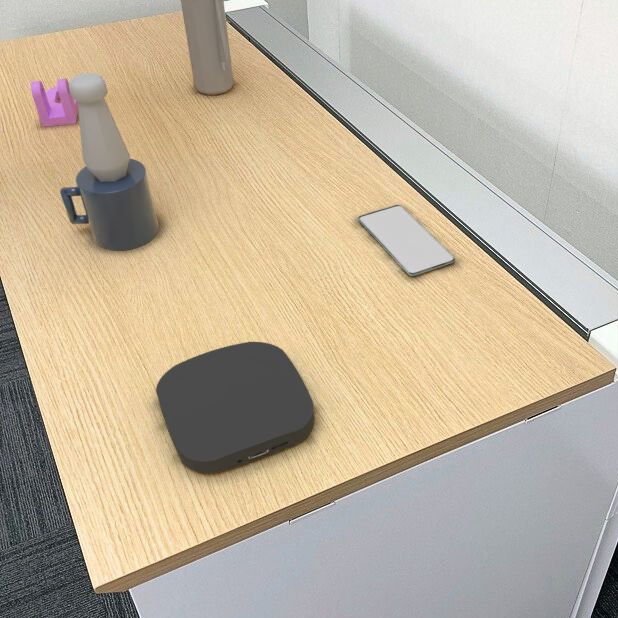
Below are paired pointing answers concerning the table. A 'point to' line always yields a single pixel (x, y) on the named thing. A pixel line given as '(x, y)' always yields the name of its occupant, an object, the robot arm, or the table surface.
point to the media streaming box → (234, 406)
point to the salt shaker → (98, 129)
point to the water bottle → (208, 45)
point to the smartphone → (406, 240)
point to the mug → (115, 208)
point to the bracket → (55, 103)
